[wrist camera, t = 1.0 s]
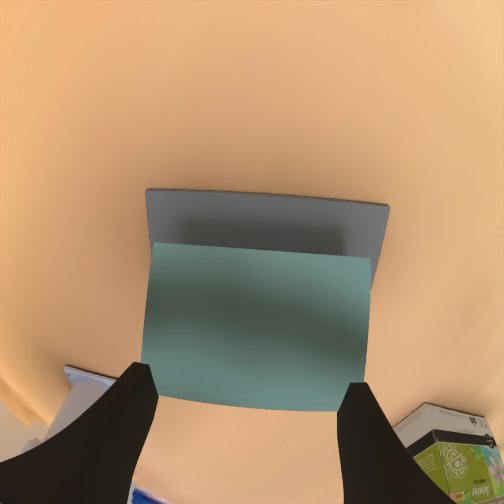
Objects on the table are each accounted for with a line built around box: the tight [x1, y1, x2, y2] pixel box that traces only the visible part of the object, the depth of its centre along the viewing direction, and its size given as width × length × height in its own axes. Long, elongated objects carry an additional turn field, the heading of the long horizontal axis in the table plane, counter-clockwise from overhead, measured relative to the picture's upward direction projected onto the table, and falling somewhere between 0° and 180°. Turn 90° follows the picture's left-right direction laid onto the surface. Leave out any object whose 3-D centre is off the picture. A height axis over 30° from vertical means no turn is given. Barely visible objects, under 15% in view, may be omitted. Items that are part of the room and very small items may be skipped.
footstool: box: [141, 242, 371, 411], centre depth 15 cm, size 7×10×5 cm
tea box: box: [393, 403, 504, 504], centre depth 21 cm, size 15×10×15 cm, turn 64°
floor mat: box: [145, 189, 390, 291], centre depth 21 cm, size 16×14×1 cm
